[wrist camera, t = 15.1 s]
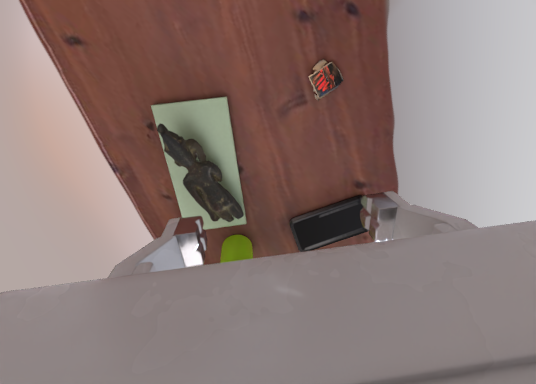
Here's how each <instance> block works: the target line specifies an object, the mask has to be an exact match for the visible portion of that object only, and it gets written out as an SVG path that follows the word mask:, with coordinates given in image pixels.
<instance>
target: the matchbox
mask: <svg viewBox="0 0 536 384" xmlns="http://www.w3.org/2000/svg"><path fill="white" fill-rule="evenodd" d="M325 63H327V62H326V61H325V60H324V59H323V60H322V61H321V60H320V61H319V62H318V63H317V64H316V65H315V66H314V68H313V70H314V69H315V70H317V71H315V72H314V74H311V75H310V76H309V80H310V81H311V84H312V85H313V87H314V91H315V92H316V93H317V95H318V97H319V99H320V98H323V96H325V95H327V94H328V93H330V92H331V91H332V90H334V89H336V88H337V87H338V86H339V85H340V83H341V82H342V81H343V77H342V75H341V74H340V71H339V69H338V68H337V66H335V65H334V63H333V62H330V63H329V64H326V65H325ZM324 65H325V66H324ZM322 66H323V67H322ZM321 67H322V68H321ZM320 68H321V69H320ZM318 97H317V96H316V95H315V98H316V99H317V100H318Z"/></svg>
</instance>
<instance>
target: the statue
mask: <svg viewBox="0 0 536 384" xmlns="http://www.w3.org/2000/svg"><path fill="white" fill-rule="evenodd" d="M157 131H158V132H159V134H160V135H161V137H162V139H163V143H164V152H166V153H167V154H168V155H169V156H170V157H172V158H173V159H174V163H175V164H176V165H177V166H179V167H181V166H183V167H185V168H186V169H187V170H188V173H187V174H186V175H185V177H184V179H183V185H184V186H185V188H186V189H187V191H188V192H189V193H190V195H191V196H192V197H193V198H194V199H195V201H196V202H197V203H198V204H199V205H200V206H201V207H202V208H203V209H204V210H205V211H206V212H208V214H209V216H210V218H211V220H212V221H214V222H216V221H218V220H219V219H220V218H222V219H223V220H226V221H228V223H229V222H231V221H233V220H234V218H233V217H235V218H237V219H240V218H242V217H243V216H244V213H243V210H242V208H241V206H240V205H239V203H238V202H237V201H236V199H235V198H234V197H233V196H232V195H231V193H230V192H229V191H228V190H226V189H225V188H224V187H223V186H222V185H221V184H220V183H218V181H219V182H221V181H222V173H221V170H220V169H219V167H218V166H217V165H216V164H214V163H213V162H211V161H206V155H205V153H204V151H203V148H202V146H201V145H200V144H199V143H198V142H197V141H196V140H194V139H188V140H184V139H183V137H182V136H178V134H176V133H174V132H172V131H169V130H168V129H167V128H166V127H165V126H164V125H163V124H159V125H158V127H157ZM197 157H198V159H199V161H197V160H196V158H197ZM232 215H233V217H232Z"/></svg>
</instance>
